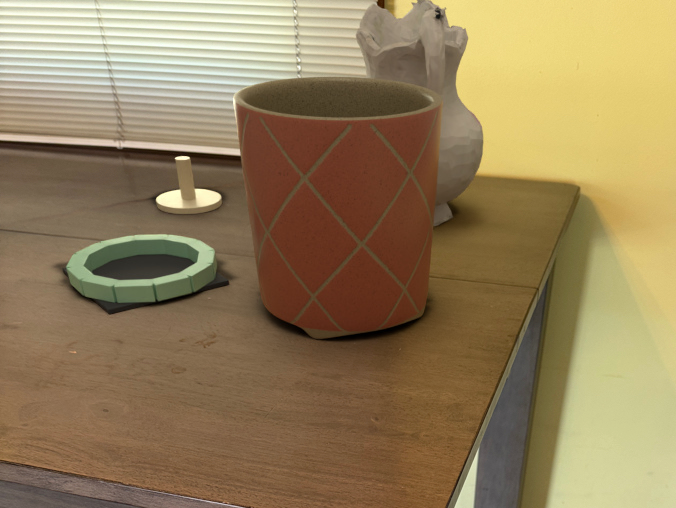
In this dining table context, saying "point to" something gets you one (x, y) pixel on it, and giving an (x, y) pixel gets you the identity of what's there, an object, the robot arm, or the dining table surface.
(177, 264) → the mat
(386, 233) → the planter
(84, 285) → the ring
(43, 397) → the dining table surface
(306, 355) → the dining table surface
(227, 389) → the dining table surface
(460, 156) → the ceramic pitcher
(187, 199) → the ring holder
